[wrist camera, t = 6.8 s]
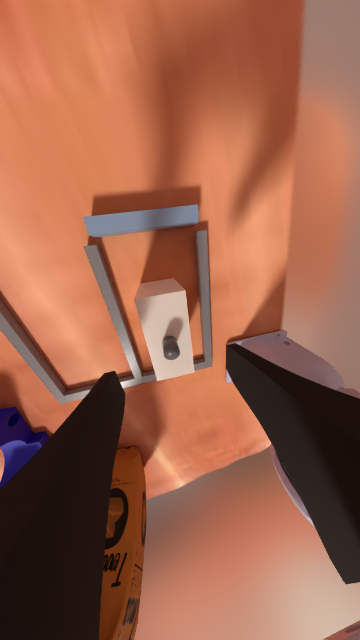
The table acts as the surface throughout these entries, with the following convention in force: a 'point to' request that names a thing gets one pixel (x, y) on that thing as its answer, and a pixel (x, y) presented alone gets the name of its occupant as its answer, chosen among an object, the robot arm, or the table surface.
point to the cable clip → (17, 442)
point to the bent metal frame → (18, 338)
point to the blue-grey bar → (141, 220)
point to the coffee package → (124, 548)
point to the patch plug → (166, 327)
